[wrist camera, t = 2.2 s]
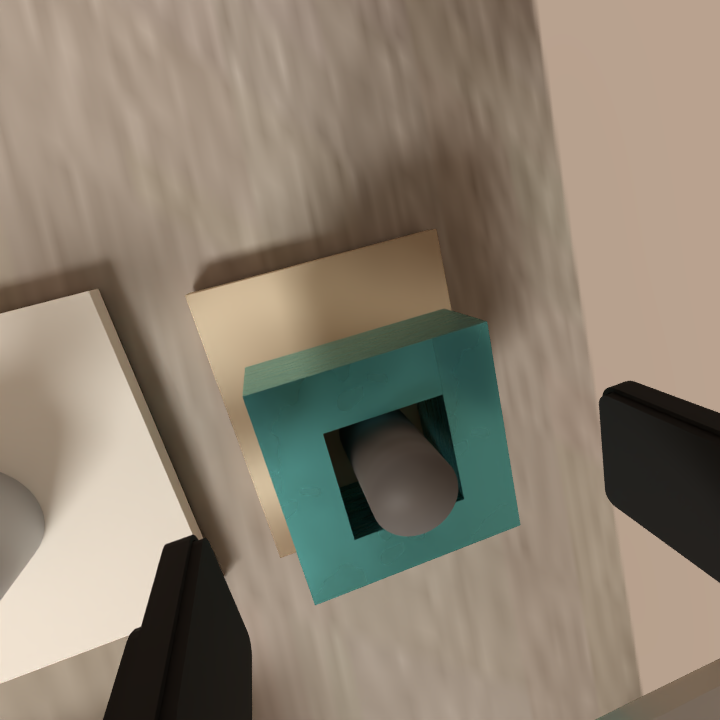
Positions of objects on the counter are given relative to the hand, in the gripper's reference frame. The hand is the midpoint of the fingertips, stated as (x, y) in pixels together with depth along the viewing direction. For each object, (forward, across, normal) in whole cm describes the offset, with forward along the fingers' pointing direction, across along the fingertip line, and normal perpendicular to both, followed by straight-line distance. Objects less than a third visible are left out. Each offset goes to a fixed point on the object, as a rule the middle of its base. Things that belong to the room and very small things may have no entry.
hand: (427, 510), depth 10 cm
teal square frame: (+6, 0, +1) cm, 6 cm away
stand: (+10, 0, +1) cm, 10 cm away
